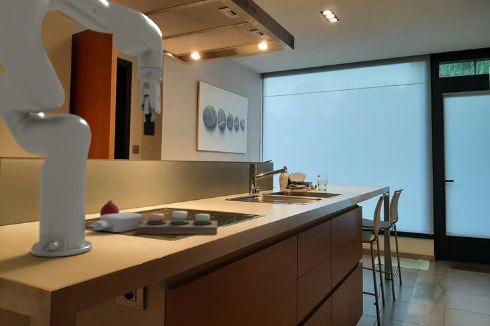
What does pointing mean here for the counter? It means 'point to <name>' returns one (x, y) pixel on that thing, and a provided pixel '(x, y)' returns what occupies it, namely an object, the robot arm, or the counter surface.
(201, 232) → the button board
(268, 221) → the counter surface
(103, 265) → the counter surface
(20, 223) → the counter surface
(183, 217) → the grey button
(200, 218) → the sage button
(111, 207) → the onion
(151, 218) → the terracotta button
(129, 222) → the white bottle
